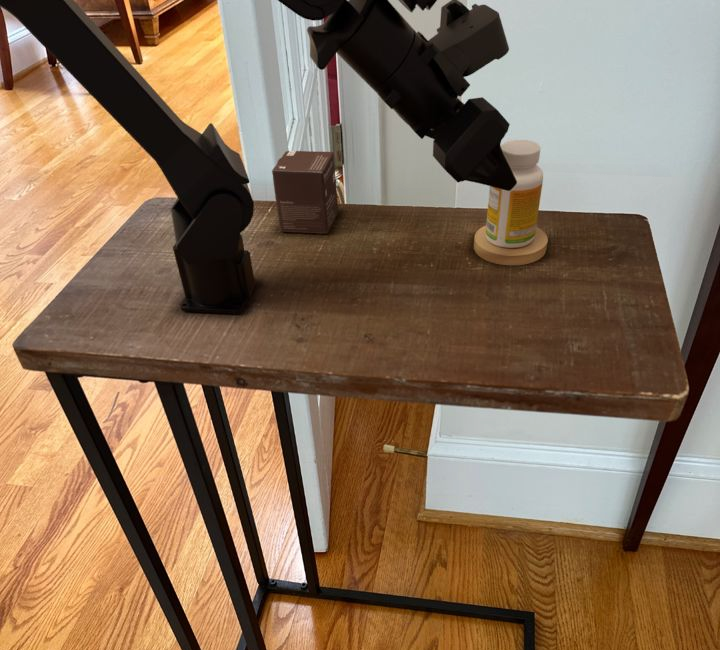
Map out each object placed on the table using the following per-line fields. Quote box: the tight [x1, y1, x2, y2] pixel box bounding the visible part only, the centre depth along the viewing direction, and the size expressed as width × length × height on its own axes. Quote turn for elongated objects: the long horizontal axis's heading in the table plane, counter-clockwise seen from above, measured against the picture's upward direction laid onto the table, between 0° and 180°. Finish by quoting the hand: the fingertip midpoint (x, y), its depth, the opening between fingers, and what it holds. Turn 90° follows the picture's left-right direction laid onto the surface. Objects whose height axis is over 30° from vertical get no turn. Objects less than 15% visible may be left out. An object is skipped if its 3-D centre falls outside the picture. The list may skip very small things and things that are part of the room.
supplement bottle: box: [485, 139, 544, 248], centre depth 73 cm, size 5×5×10 cm
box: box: [271, 150, 339, 234], centre depth 81 cm, size 6×6×7 cm
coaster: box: [473, 225, 549, 266], centre depth 76 cm, size 8×8×1 cm
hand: (495, 168), depth 70 cm, fingers open, 9 cm apart
